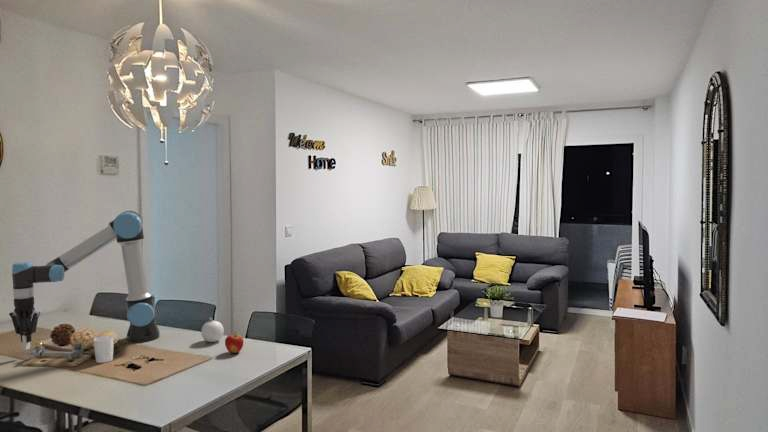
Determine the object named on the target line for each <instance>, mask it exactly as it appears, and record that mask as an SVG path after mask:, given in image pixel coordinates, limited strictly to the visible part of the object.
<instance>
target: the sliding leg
mask: <svg viewBox="0 0 768 432" xmlns="http://www.w3.org/2000/svg"><path fill="white" fill-rule="evenodd" d="M42 351H46V348H45V346H44V345H43V342H42V341H37V342H35V343H34V347H33V348H32V350H31V351H28V352H27V353H26V355H27V356H28V360H32V359H33V358H35V357H40V352H42Z"/></svg>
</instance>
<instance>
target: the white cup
mask: <svg viewBox="0 0 768 432" xmlns="http://www.w3.org/2000/svg"><path fill="white" fill-rule="evenodd" d="M114 339H115V338H114V336H113V335H101V336H98V337H95V338H93V349H94V356H95V362H96V363H97V364H98V363H99V364H103V363H109V362H111V361H113V360H114V347H115V346H114V345H115V344H114V342H115V341H114Z"/></svg>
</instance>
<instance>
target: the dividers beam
mask: <svg viewBox="0 0 768 432" xmlns="http://www.w3.org/2000/svg"><path fill="white" fill-rule="evenodd" d="M83 355H85V350H84V347H82V343H81V342H78V343H74V344H73V349H72V351H49V350H48V351H46V350H45V351H42V352H40V357H60V358H69V361H72V358H81V357H83Z"/></svg>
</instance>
